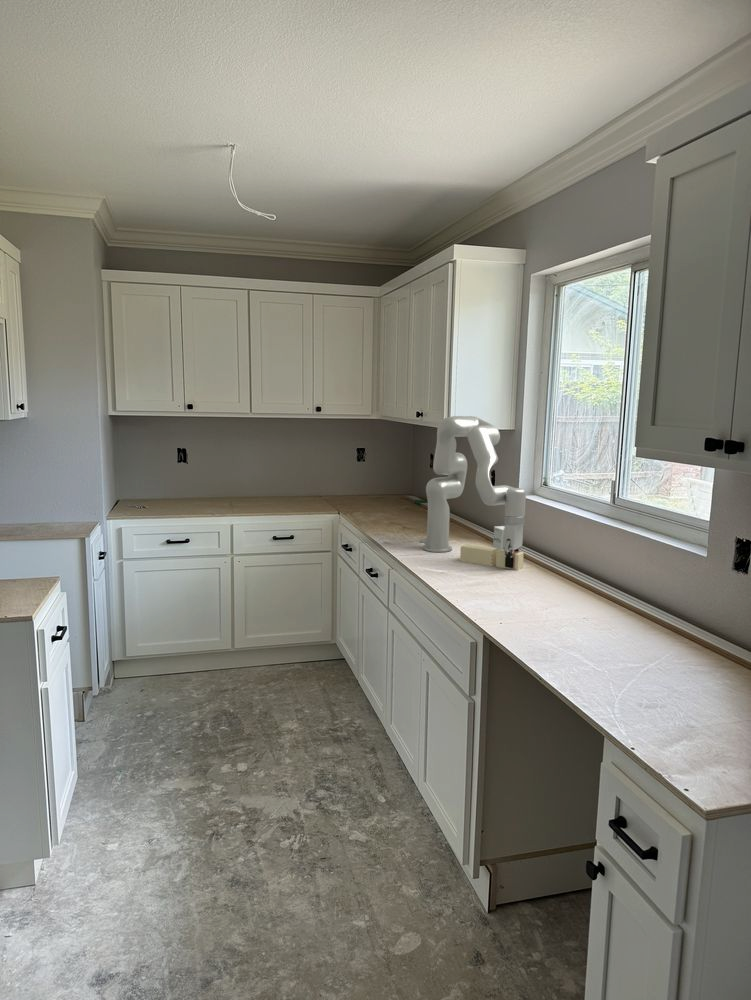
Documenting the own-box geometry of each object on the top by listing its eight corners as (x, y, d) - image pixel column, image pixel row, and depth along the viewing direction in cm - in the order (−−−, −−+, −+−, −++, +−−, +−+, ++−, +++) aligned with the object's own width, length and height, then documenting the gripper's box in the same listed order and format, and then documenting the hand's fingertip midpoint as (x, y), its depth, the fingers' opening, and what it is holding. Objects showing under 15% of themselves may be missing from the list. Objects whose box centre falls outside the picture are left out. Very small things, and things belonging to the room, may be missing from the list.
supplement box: (492, 555, 287) (493, 526, 285) (507, 554, 289) (509, 525, 287) (500, 559, 280) (501, 529, 278) (516, 558, 282) (517, 528, 280)
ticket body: (459, 561, 273) (460, 546, 272) (465, 558, 277) (466, 543, 276) (492, 566, 265) (493, 551, 264) (497, 564, 270) (498, 548, 269)
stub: (495, 566, 264) (496, 551, 263) (501, 564, 269) (502, 549, 268) (517, 570, 260) (518, 554, 259) (522, 567, 264) (523, 552, 263)
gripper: (513, 515, 270) (511, 560, 273) (496, 522, 256) (494, 568, 259) (531, 518, 266) (529, 562, 269) (515, 524, 252) (513, 571, 255)
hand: (512, 565), depth 264 cm, fingers closed on stub, 5 cm apart
